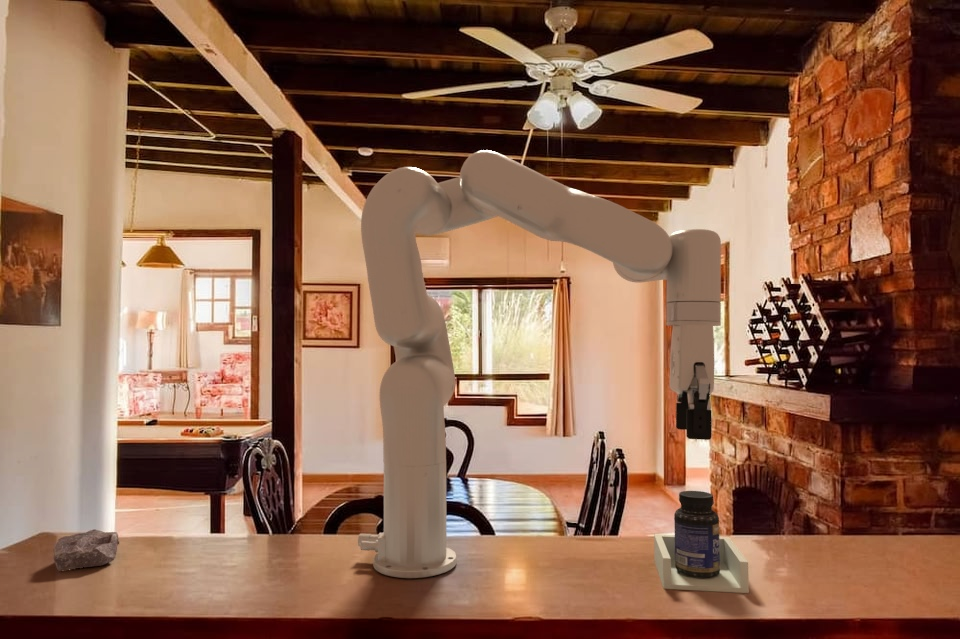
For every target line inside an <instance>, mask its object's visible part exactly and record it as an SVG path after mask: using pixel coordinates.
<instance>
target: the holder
mask: <svg viewBox="0 0 960 639" xmlns="http://www.w3.org/2000/svg"><path fill="white" fill-rule="evenodd" d="M653 545H654V548H653V549H654V550H653V552H654V557H653V558H654V564H655V567H656V569H657V573H658V575H659V579H660V581H661V585H662V588H663V589H664V590H681V591H682V590H683V591H685V590H686V591H700V592H718V593H719V592H721V593H722V592H723V593H737V594H738V593H739V594H749V593H750V591H749V590H750V588H749V587H750V586H749V584H750V582H749V578H750V577H749V561H748V560H747V558H746V557H745V556H744V555H743V553H742V552H741V551H740V549H739V548H738V546H737V545H736V544H735V543H734V542H733V540H732V539H731V537H729V536H719V547H720V573H719V574H718V575H717V576H715V577H712V578H697V577H690V576H686V575H684V574H682V573H680V572H679V571H678V570H677V569H676V567H675V534H656V533H654V535H653Z"/></svg>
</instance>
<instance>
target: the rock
mask: <svg viewBox="0 0 960 639" xmlns="http://www.w3.org/2000/svg"><path fill="white" fill-rule="evenodd" d="M119 545H120V541H119V534H118V532H115V531H110V532H108V531H107V532H105V531H102V530H99V529H90V530H88V531H86V532H82V533H81V532H79V533H75V534H72V535H65V536H62V537H59V538H58V539H57V541H56V543H55V544H54V546H53V561H54V563H55V567H56V570H57V572H59V571H62V570H69V569H74V570H76V569H75V568H80V569H83V567H84V568H91V567H98V566H99V567H100V566H103V565H106V564H109V563H111V562H113V561H114V560H115V559H116V555H117V552H118V546H119ZM69 571H70V570H69ZM62 572H63V571H62Z"/></svg>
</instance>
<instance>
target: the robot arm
mask: <svg viewBox="0 0 960 639" xmlns="http://www.w3.org/2000/svg"><path fill="white" fill-rule="evenodd" d="M497 217H499V218H501V219H504V220H505V221H508V222H510V223H511V224H514V225H515V226H518V227H520V228H521V229H523V230H524V231H527V232H529V233H531V234H533V235H535V236H537V237H539V238H541V239H542V240H543V239H544V240H546V241H551V242H562V243H568V244H571V245H574V246H577V247H579V248H583V249H584V250H587V251H589V252H591V253H593V254H596V255H597V256H599V257H602V258H603V259H606V260H608V261H609V262H611V263H612V264H613V268H614V270H615V272H616V273H617V275H619V277H621V278H622V279H624V280H625V281H628V282H630V283H637V284H638V283H648V282H655V281H663V280H664V281H665V280H666V288H665V289H666V294H665V295H666V302H665V303H666V304H665V305H666V307H665V308H666V315H665V316H666V320H665V321H666V323H665V326H668V327H669V326H671V327H672V329H671V330H672V332H671V341H670V358H669V360H670V363H669V367H670V368H669V389H670V390H671V391H672V392H674V393H676V403H675V427H676V429H677V430H684V431H686V438H687V439H688V440H705V441H706V440H711V439H712V422H713V420H712V413H713V412H712V400H711V394H712V393H713V392H714V386H715V337H714V336H715V335H714V327H720V326H721V325H722V324H721V323H722V322H721V321H722V320H721V317H722V316H721V313H722V312H721V310H722V307H721V306H722V305H721V304H722V303H721V300H722V296H721V295H722V287H721V285H722V284H721V283H722V277H721V275H722V270H721V267H722V266H721V265H722V261H721V260H722V246H721V245H722V242H721V241H722V240H721V237H720V235H719V234H718V232H716V231H714V230H710V229H705V228H704V229H700V228H695V229H682V230H678V231H675V232H673V233H671V234H670V235H669V234H668V232H666V230H665V229H664V228H662V226H661V225H659V224H658V223H655V221H652V220H651V219H648V218H646V217H644V216H643V215H640V214H639V213H636V212H634V211H632V210H630V209H628V208H626V207H625V206H623V205H620V204H618V203H615V202H613V201H611V200H607V199H605V198H602V197H600V196H596V195H593V194H590V193H588V192H584V191H582V190H579V189H576V188H572V187H570V186H567V185H564V184H563V183H560V182H558V181H557V180H554V179H552V178H550V177H549V176H546V175H545V174H542V173H540V172H538V171H536V170H534V169H532V168H529V167H528V166H525V165H524V164H522V163H520V162H518V161H516V160H513V159H512V158H509V157H507V156H506V155H504V154H502V153H499V152H496V151H492V150H488V149H486V150H484V149H483V150H482V149H481V150H478V151H476V152H473V153H472V154H471V155H469V156H468V157H467V158H466V159H465V161H464V162H463V164H462V166H461V168H460V172H459V176H457V177H455V178H451V179H447V180H444V181H440V182H437V181H436V179H435V178H434V177H433V176H432V175H431V174H429V173H428V172H426V171H424V170H422V169H420V168H417V167H412V166H403V167H398V168H396V169H393V170H392V171H389V172H388V173H386V174H385V175H384V176H383V177H382V178H381V179H380V180H378V182H377V183H375V185H374V186H373V187H372V188H371V190H370V192H369V193H368V195H367V198H366V199H365V201H364V205H363V209H362V212H361V218H360V234H361V243H362V249H363V256H364V261H365V266H366V267H365V268H366V274H367V283H368V288H369V294H370V299H371V301H370V302H371V307H372V313H373V320H374V327H375V331H376V332H377V334H378V336H379V337H380V339H381V340H382V341H384V342H385V343H386V344H388V345H390V346H392V347H393V350H394V355H395V362H393V363H392V364H391V365H390V366H389V367H388V368H387V370H386V371H385V372H384V374H383V376H382V379H381V383H380V386H379V406H380V407H379V409H380V415H381V427H382V438H383V439H382V440H383V441H382V444H383V448H382V449H383V450H382V452H383V454H382V455H383V532H379V533H378V534H372V533H359V535H358V538H357V546H358V547H360V551H374V552H375V553H376V554H375V555H374V556H373V559H372V560H373V564H372V565H373V568H374V570H375V571H376V572H378V573H380V574H382V575H385V576H386V577H387V576H388V577H393V578H398V579H399V578H400V579H422V578H429V577H433V576H437V575H441V574H442V575H443V574H445V573H446V572H449V571H451V570H452V569H453V568H454V567H455V566H456V565H457V561H458V558H457V552H455V551H454V550H453V549H451V548H449V547H448V546H447V544H448V543H447V444H446V443H447V438H446V437H447V436H446V423H445V410H444V409H445V408H444V406H446V405H447V404H448V403H449V402H450V401H451V399H452V397H453V395H454V392H455V388H456V376H455V375H456V374H455V368H454V362H453V357H452V352H451V346H450V340H449V334H448V328H447V322H446V318H445V315H444V312H443V309H442V308H441V305H439V303H438V301H437V300H436V299H435V297H433V296H432V295H430V294H428V292H427V288H426V284H425V283H426V282H425V279H424V278H425V277H424V273H423V267H422V261H421V260H422V259H421V255H420V251H419V249H418V248H419V247H418V243H417V238H416V237H417V236H416V234H419V235H422V236H433V235H439V234H443V233H447V232H451V231H454V230H457V229H461V228H464V227H468V226H473V225H475V224H478V223H481V222H485V221H489V220H492V219H495V218H497Z"/></svg>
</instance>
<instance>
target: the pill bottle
mask: <svg viewBox="0 0 960 639" xmlns="http://www.w3.org/2000/svg"><path fill="white" fill-rule="evenodd" d="M678 501H679V503H680V507H679V508H677V509H676V510H675V512H674V518H673V519H674V520H673V521H674V535H675V567H676V569H677V570H678V571H679V572H680V573H682V574H684V575H686V576H690V577H697V578H712V577H715V576H717V575H718V574H719V573H720V547H719V537H720V518H719V515H718V513H717V512H716V511H715V510H713V508H712V507H713V505H714V495H713V494H712V493H711V492H707V491H703V490H702V491H701V490H684V491H679V493H678Z"/></svg>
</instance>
